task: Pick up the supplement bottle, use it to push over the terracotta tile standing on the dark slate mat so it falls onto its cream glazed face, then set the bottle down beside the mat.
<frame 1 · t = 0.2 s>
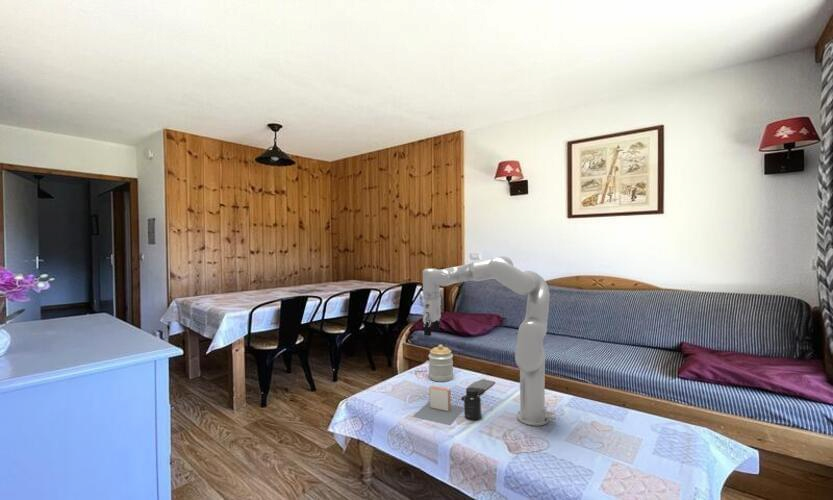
hand: (431, 332, 174), 31 cm above the table, tool pointing down, fingers open, 9 cm apart
jar: (441, 377, 201), on the table
slate mat: (439, 413, 160), on the table
tile: (440, 408, 163), point 1 cm above the table, touching slate mat
cleaver: (476, 391, 184), on the table
supplement bottle: (472, 418, 156), on the table
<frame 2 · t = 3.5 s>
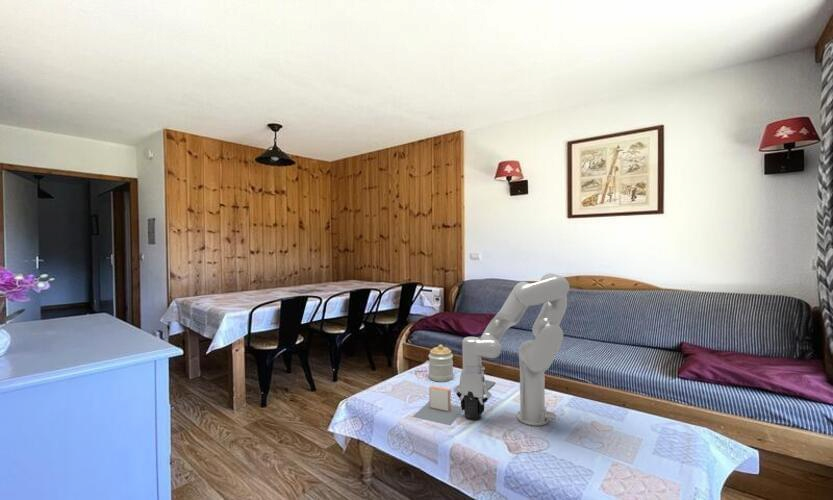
hand: (472, 410, 155), 3 cm above the table, tool pointing down, fingers closed on supplement bottle, 6 cm apart
supplement bottle: (472, 418, 156), on the table, touching gripper
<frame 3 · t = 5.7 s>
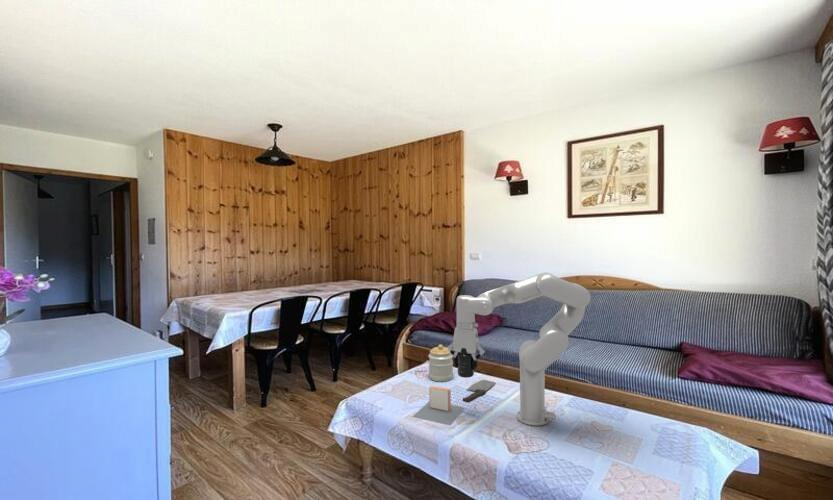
hand: (465, 367, 158), 20 cm above the table, tool pointing down, fingers closed on supplement bottle, 6 cm apart
supplement bottle: (465, 375, 158), point 17 cm above the table, touching gripper
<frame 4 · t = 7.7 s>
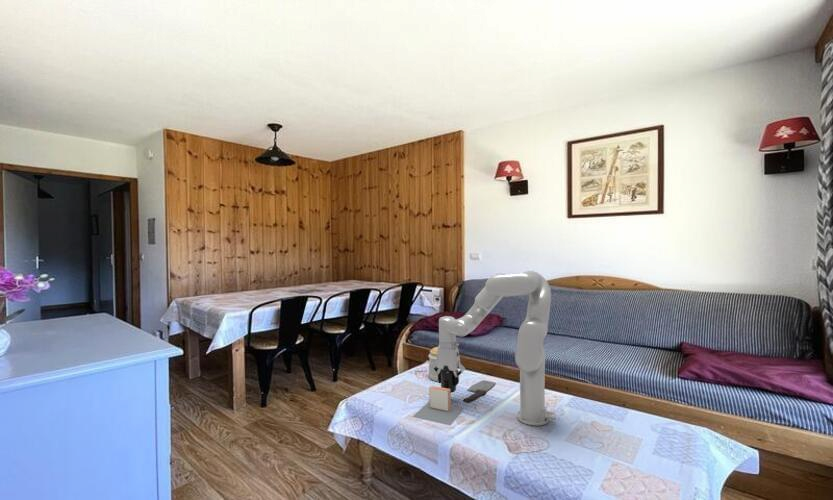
hand: (448, 383, 171), 9 cm above the table, tool pointing down, fingers closed on supplement bottle, 6 cm apart
supplement bottle: (448, 390, 171), point 5 cm above the table, touching gripper
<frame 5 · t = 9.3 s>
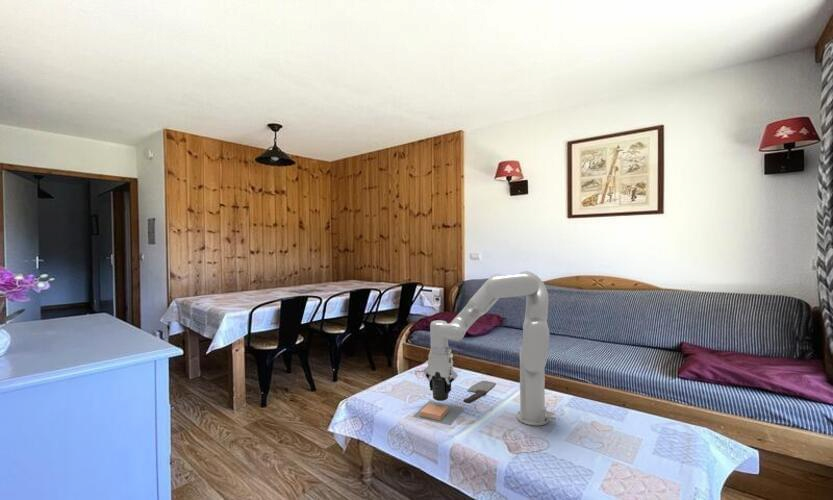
hand: (440, 390, 163), 8 cm above the table, tool pointing down, fingers closed on supplement bottle, 6 cm apart
tile: (439, 406, 162), point 2 cm above the table, tilted 90°, touching slate mat
supplement bottle: (440, 398, 163), point 5 cm above the table, touching gripper
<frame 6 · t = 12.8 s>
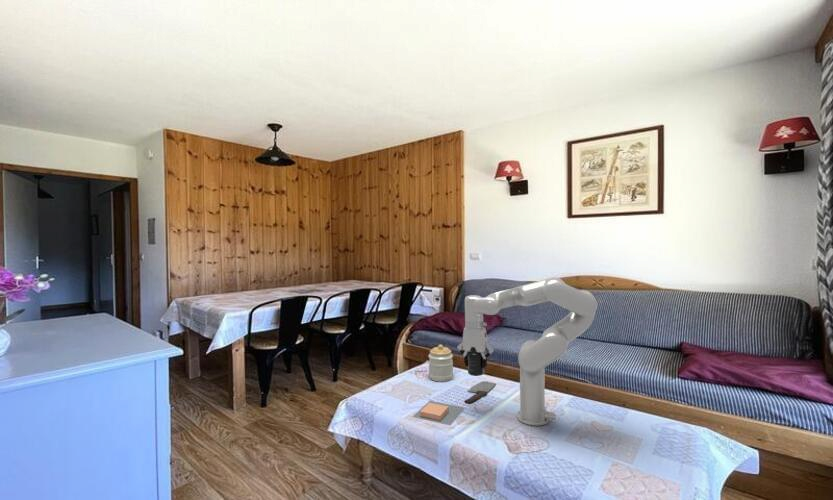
hand: (475, 366, 161), 19 cm above the table, tool pointing down, fingers closed on supplement bottle, 6 cm apart
supplement bottle: (475, 373, 161), point 16 cm above the table, touching gripper
when the fingers open (4 cm above the table, at t = 16.2 s): supplement bottle drops 1 cm, on the table.
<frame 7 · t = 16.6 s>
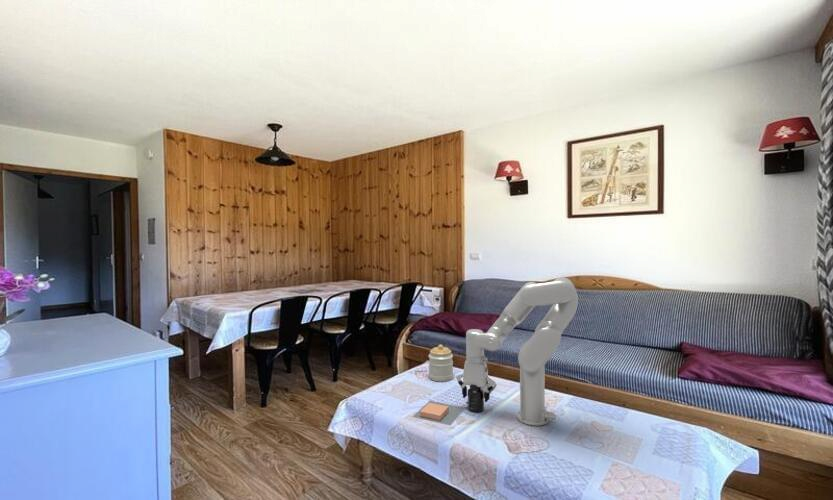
hand: (475, 398, 162), 5 cm above the table, tool pointing down, fingers open, 9 cm apart
cleaver: (479, 394, 180), on the table
supplement bottle: (475, 411, 162), on the table
everything else where it was.
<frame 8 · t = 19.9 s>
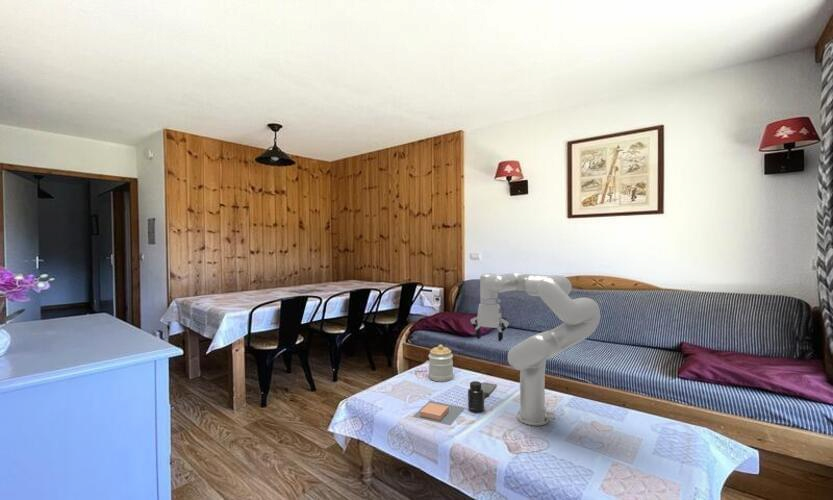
hand: (489, 339, 170), 28 cm above the table, tool pointing down, fingers open, 9 cm apart
at the end: tile tilted 90°; supplement bottle inside the target area (0.2 cm from its centre), on the table; supplement bottle tilted 0° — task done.
